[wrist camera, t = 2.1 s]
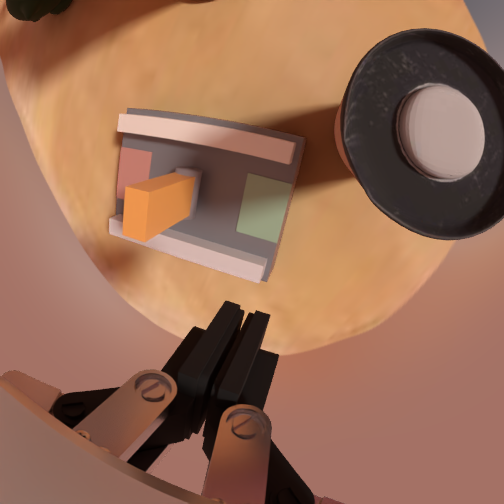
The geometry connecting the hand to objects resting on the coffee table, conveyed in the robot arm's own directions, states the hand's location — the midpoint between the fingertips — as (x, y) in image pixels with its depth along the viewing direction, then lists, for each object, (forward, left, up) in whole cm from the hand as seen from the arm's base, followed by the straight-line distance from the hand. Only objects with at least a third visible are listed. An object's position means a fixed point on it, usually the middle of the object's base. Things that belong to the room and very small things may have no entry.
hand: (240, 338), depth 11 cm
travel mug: (-9, +5, -21) cm, 24 cm away
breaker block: (0, -10, -21) cm, 23 cm away
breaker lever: (0, -10, -17) cm, 20 cm away
